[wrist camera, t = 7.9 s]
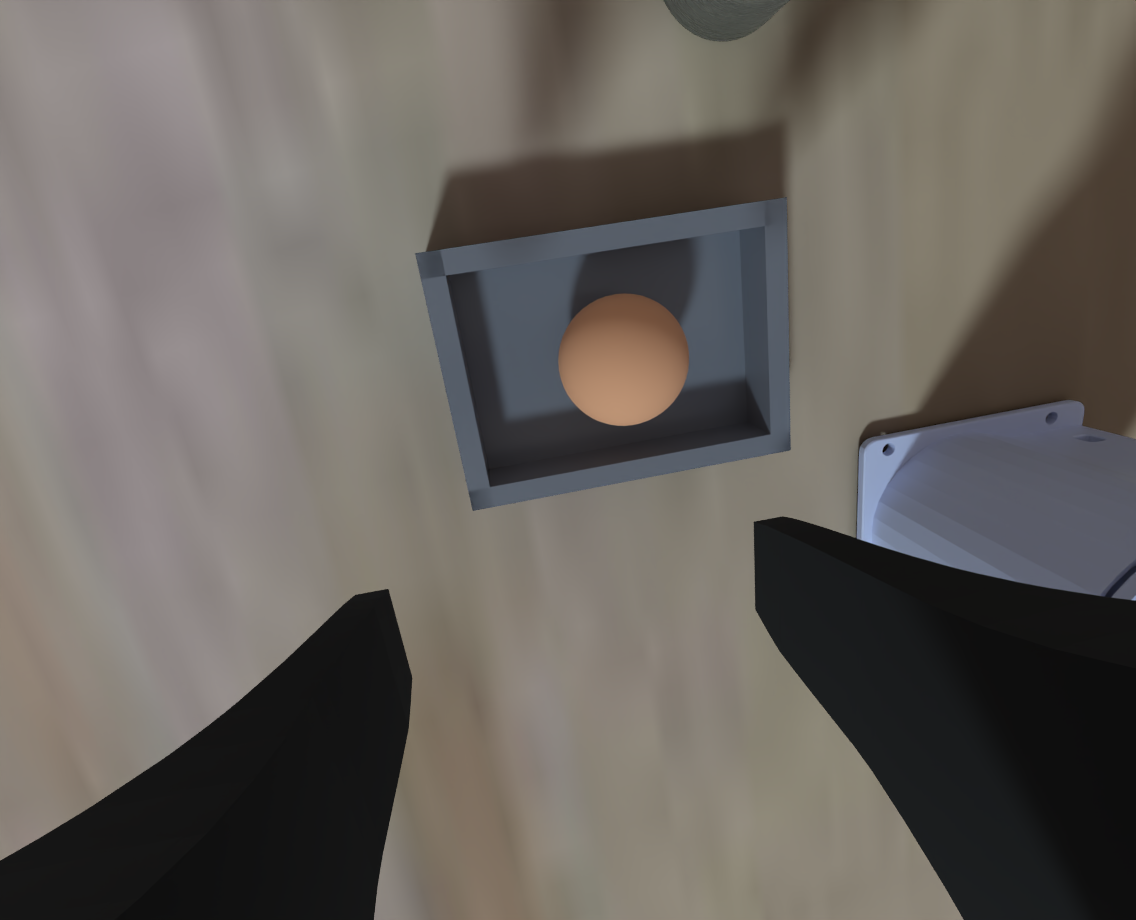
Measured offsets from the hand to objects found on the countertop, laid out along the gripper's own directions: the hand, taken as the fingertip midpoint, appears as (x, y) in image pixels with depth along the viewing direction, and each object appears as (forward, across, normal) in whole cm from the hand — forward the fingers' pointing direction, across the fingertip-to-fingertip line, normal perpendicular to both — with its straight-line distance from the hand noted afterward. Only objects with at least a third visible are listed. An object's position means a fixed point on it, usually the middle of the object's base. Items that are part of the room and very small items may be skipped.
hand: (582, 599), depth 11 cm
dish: (+10, -3, -3) cm, 11 cm away
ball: (+10, -3, -3) cm, 10 cm away
